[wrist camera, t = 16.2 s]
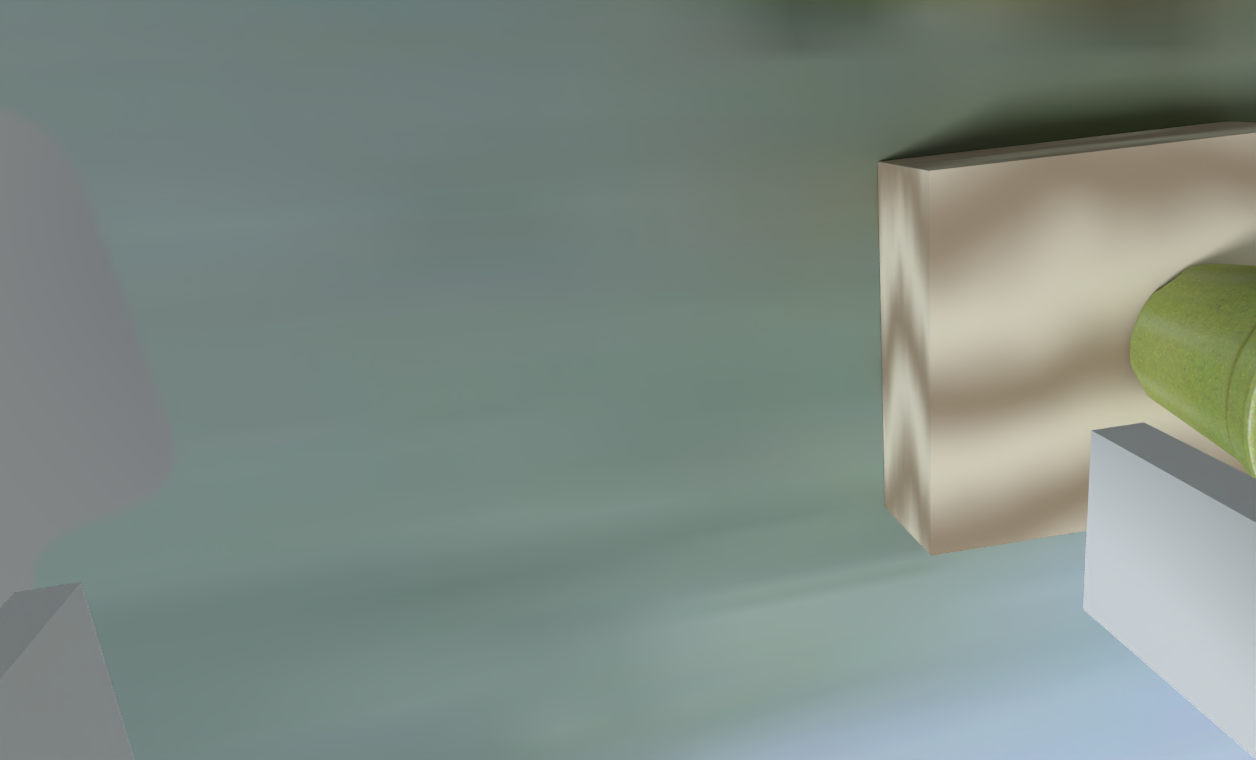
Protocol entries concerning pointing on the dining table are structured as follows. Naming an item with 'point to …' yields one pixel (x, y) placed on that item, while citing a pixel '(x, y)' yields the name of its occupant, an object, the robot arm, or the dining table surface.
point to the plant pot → (1203, 354)
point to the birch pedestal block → (1037, 315)
